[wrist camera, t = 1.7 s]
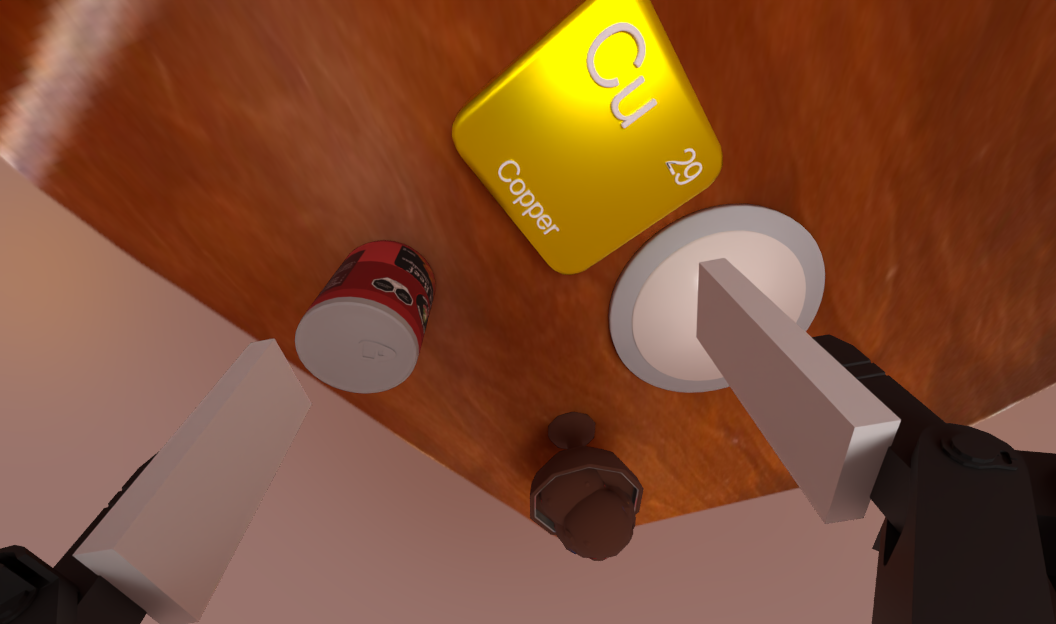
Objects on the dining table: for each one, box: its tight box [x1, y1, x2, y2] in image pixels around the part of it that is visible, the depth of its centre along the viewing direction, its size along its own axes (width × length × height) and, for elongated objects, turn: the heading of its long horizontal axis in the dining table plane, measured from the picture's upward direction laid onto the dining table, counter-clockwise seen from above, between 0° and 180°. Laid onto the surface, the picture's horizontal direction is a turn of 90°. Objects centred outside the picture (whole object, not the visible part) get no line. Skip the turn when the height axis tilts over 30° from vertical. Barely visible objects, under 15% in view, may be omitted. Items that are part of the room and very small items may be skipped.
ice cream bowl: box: [530, 412, 643, 561], centre depth 43 cm, size 11×11×15 cm
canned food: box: [295, 240, 435, 393], centre depth 34 cm, size 8×8×11 cm
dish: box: [609, 204, 825, 392], centre depth 41 cm, size 20×20×2 cm
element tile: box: [452, 0, 723, 275], centre depth 32 cm, size 15×15×5 cm
